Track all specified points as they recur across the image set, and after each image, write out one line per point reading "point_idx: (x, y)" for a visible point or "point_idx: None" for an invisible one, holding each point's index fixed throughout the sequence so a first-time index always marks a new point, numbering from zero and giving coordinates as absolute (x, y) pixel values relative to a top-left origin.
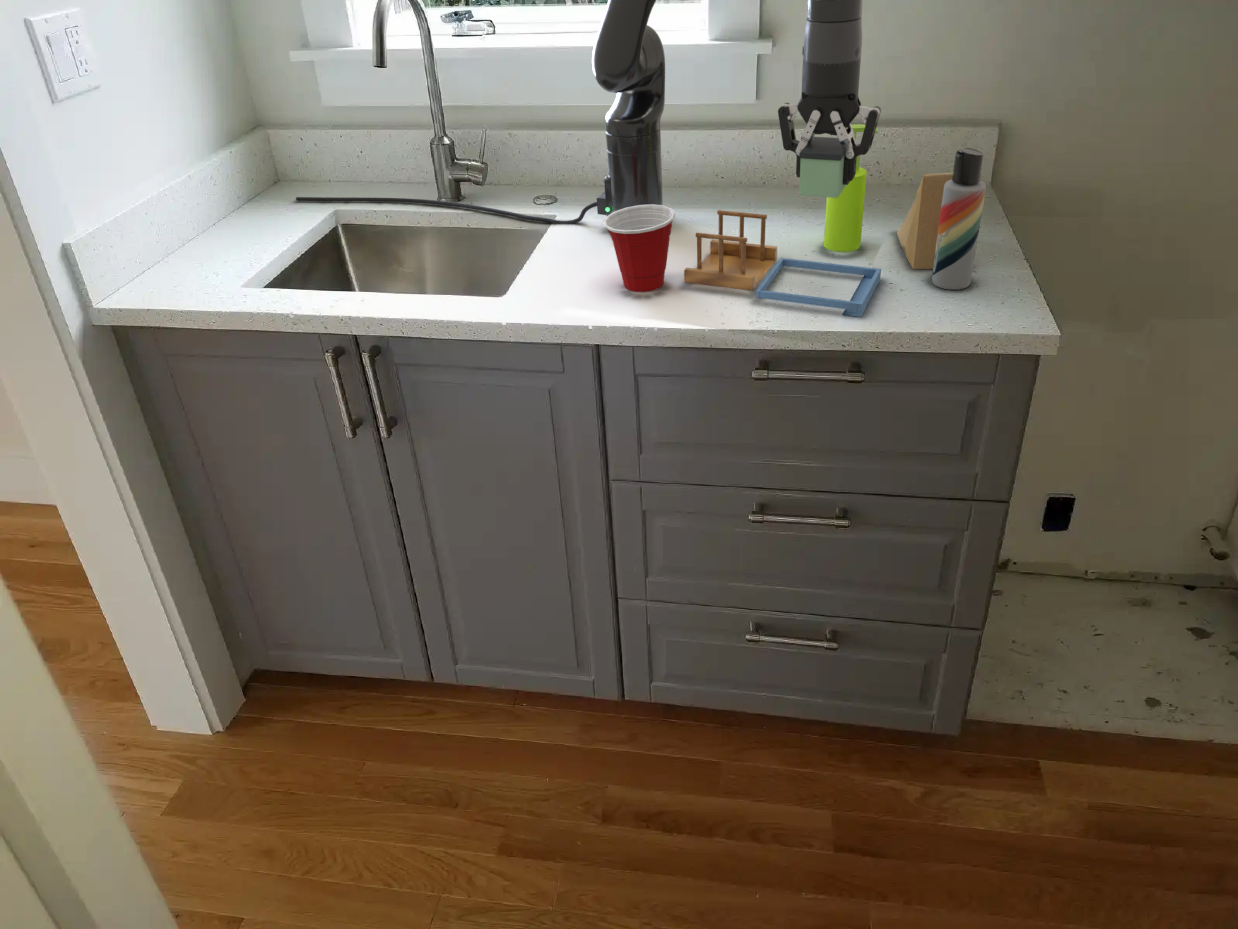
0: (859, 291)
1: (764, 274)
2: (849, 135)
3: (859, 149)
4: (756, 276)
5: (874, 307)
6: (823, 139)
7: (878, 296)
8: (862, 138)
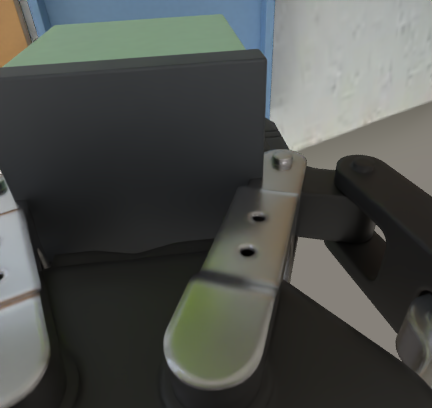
0: (242, 19)
1: (19, 21)
2: (288, 279)
3: (329, 245)
4: (11, 40)
5: (279, 66)
6: (71, 132)
7: (279, 11)
8: (363, 288)
